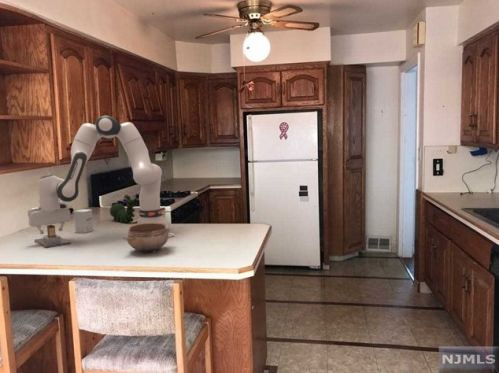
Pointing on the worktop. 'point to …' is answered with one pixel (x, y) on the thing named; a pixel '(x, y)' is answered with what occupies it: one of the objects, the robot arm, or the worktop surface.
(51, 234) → the brown wooden block
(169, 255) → the worktop surface
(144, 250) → the cooking pot
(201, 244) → the worktop surface
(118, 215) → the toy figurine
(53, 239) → the base
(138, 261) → the worktop surface
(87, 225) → the supplement box
